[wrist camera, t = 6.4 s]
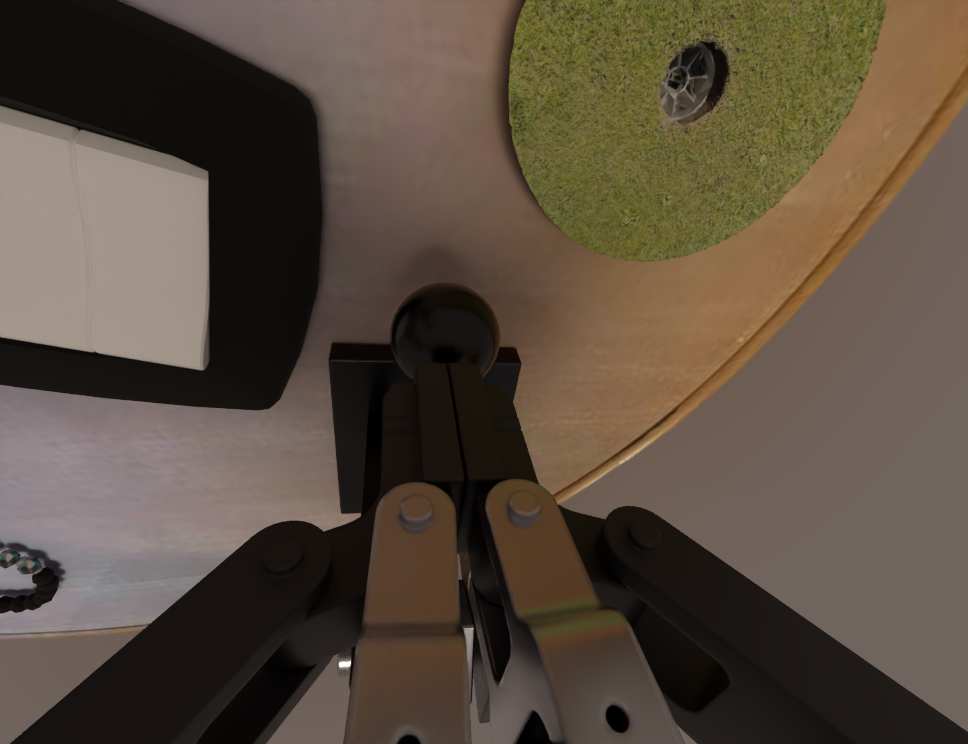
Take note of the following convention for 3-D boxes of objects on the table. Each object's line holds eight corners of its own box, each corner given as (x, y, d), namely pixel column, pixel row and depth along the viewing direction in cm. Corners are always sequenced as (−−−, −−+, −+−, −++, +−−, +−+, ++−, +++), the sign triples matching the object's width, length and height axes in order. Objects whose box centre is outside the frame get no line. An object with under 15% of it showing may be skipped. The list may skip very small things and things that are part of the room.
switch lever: (390, 280, 15) (390, 277, 11) (490, 285, 15) (515, 284, 12) (385, 647, 17) (383, 729, 14) (472, 639, 17) (490, 714, 14)
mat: (478, 232, 17) (486, 253, 16) (533, -239, 11) (555, -281, 9) (740, 249, 20) (769, 269, 18) (921, -136, 13) (991, -155, 11)
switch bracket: (331, 342, 19) (272, 642, 10) (516, 347, 21) (612, 611, 12) (342, 496, 25) (311, 774, 16) (486, 490, 27) (534, 741, 18)
